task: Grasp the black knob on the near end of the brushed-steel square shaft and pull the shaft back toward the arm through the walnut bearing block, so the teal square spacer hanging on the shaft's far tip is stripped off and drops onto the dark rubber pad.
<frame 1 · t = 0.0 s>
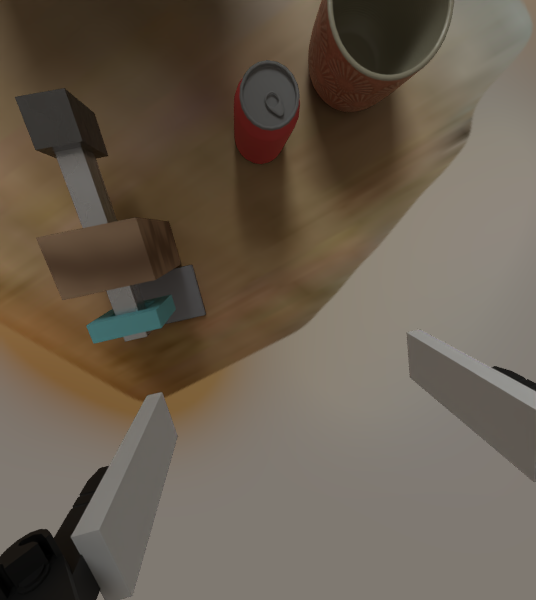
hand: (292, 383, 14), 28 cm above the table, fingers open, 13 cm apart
beer can: (259, 138, 37), on the table
bearing block: (143, 250, 38), on the table
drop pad: (158, 298, 40), on the table
planter: (346, 69, 36), on the table
spacer: (146, 308, 35), point 6 cm above the table, touching shaft
shaft: (103, 232, 28), point 10 cm above the table, slide at 0.0 cm, touching spacer
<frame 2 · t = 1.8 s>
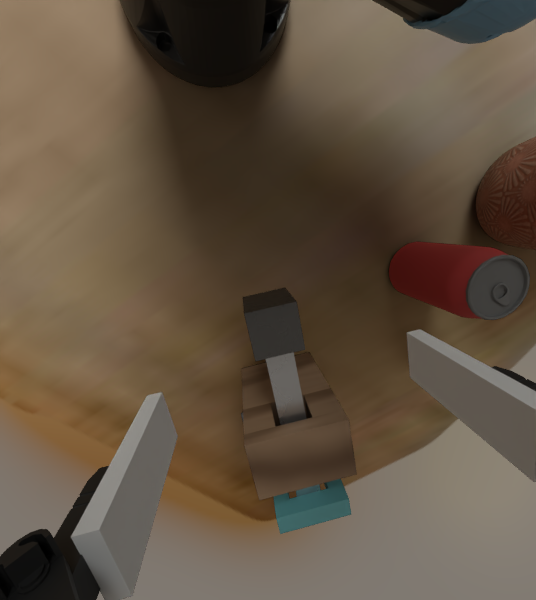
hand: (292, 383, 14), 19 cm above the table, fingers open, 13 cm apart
beer can: (410, 267, 34), on the table
bearing block: (280, 380, 36), on the table
planter: (507, 197, 34), on the table
spacer: (298, 456, 33), point 6 cm above the table, touching shaft
shaft: (291, 414, 26), point 10 cm above the table, slide at 0.0 cm, touching spacer
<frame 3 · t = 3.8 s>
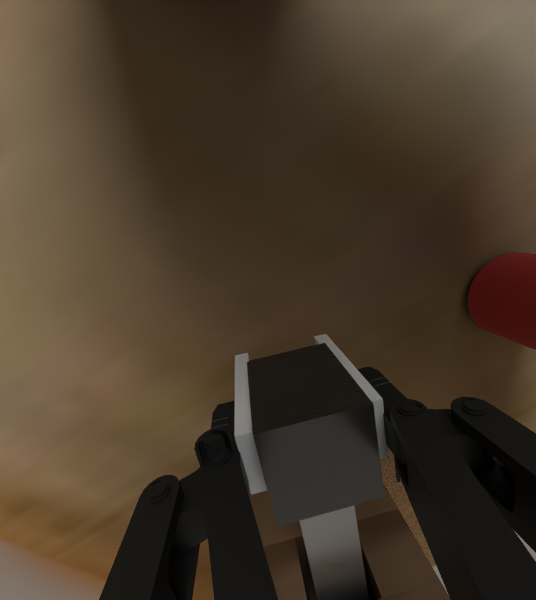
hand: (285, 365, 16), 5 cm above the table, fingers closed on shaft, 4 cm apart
beer can: (496, 291, 23), on the table
bearing block: (299, 456, 24), on the table
shaft: (335, 571, 14), point 10 cm above the table, slide at 0.0 cm, touching gripper, spacer
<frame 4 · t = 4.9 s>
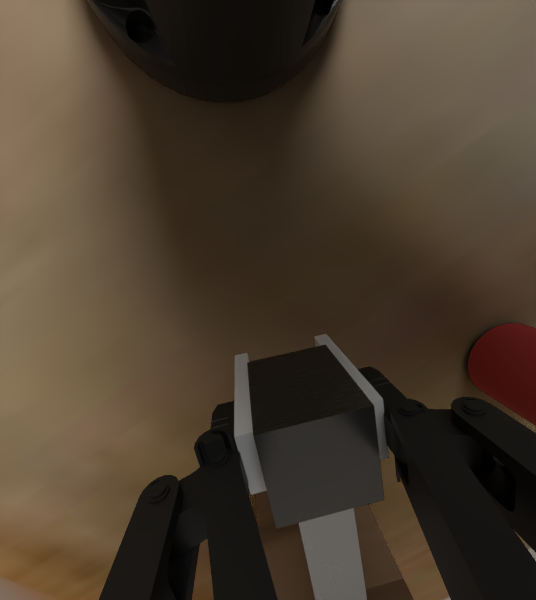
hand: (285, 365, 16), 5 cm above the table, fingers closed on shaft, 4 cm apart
beer can: (495, 355, 24), on the table
bearing block: (308, 506, 26), on the table
shaft: (333, 574, 14), point 10 cm above the table, slide at 5.6 cm, touching gripper
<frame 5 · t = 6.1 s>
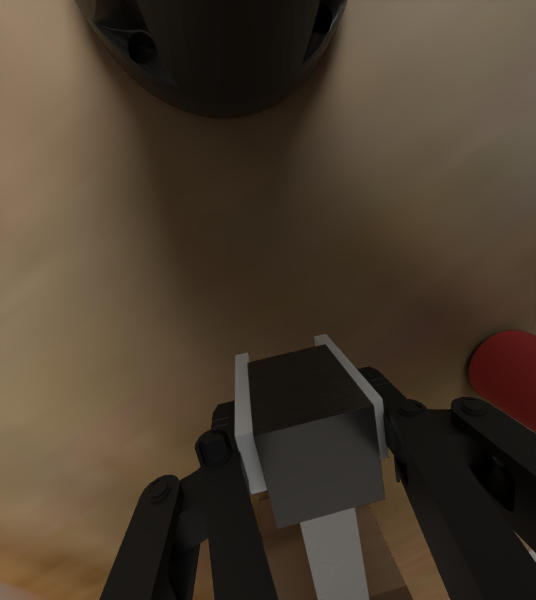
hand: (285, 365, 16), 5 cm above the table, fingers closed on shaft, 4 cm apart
beer can: (495, 361, 25), on the table
bearing block: (311, 511, 26), on the table
shaft: (335, 573, 14), point 10 cm above the table, slide at 6.5 cm, touching gripper
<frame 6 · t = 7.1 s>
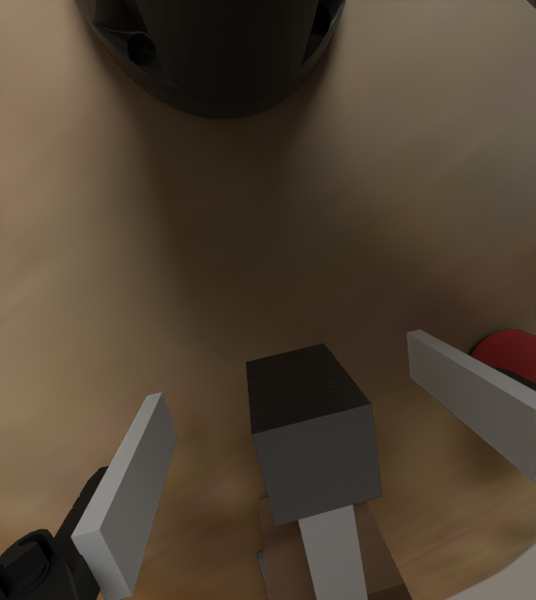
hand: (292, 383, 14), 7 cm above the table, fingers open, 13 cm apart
beer can: (493, 360, 25), on the table
bearing block: (310, 510, 26), on the table
shaft: (334, 570, 14), point 10 cm above the table, slide at 6.5 cm
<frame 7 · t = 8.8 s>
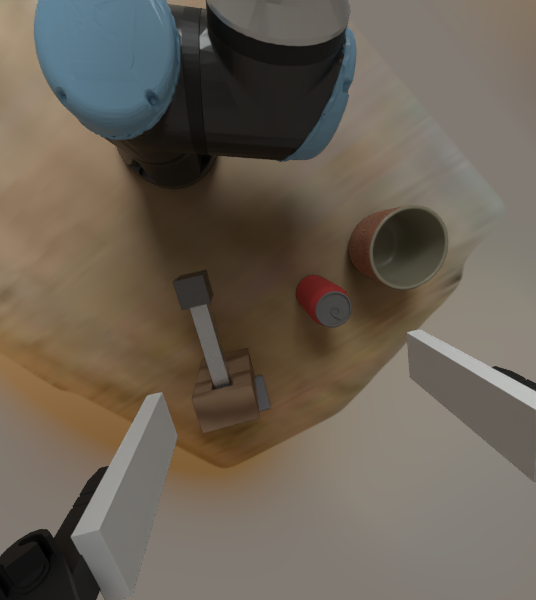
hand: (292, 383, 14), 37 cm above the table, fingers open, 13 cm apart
beer can: (312, 291, 52), on the table
bearing block: (228, 367, 54), on the table
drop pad: (237, 398, 56), on the table
planter: (373, 244, 51), on the table
shaft: (212, 347, 42), point 10 cm above the table, slide at 6.5 cm
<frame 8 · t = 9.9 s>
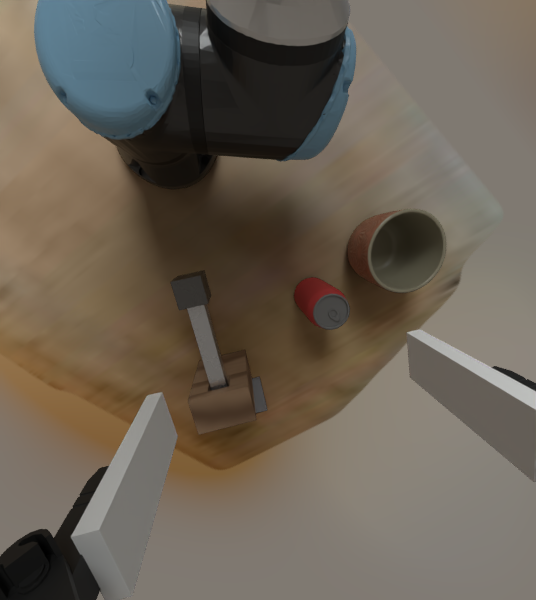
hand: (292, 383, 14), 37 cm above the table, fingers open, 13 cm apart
beer can: (310, 293, 52), on the table
bearing block: (225, 368, 54), on the table
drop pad: (234, 399, 56), on the table
planter: (372, 247, 51), on the table
shaft: (209, 348, 42), point 10 cm above the table, slide at 6.5 cm
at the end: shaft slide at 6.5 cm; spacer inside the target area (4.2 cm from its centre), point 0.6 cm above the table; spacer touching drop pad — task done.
